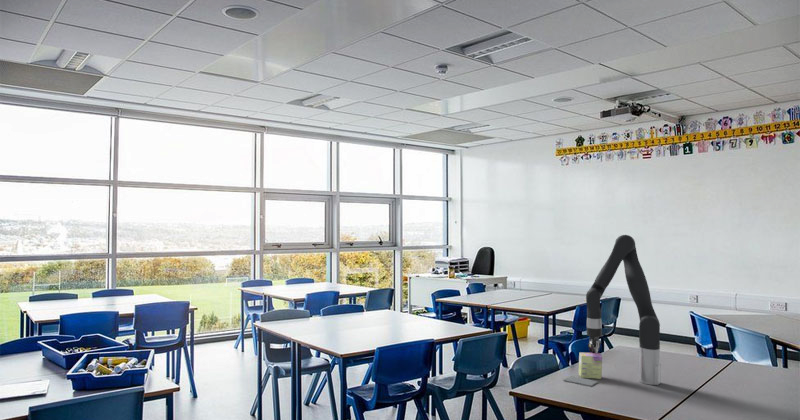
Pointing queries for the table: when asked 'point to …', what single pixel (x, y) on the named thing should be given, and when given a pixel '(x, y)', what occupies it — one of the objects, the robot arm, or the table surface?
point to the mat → (581, 381)
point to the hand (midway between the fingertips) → (594, 359)
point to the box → (590, 365)
